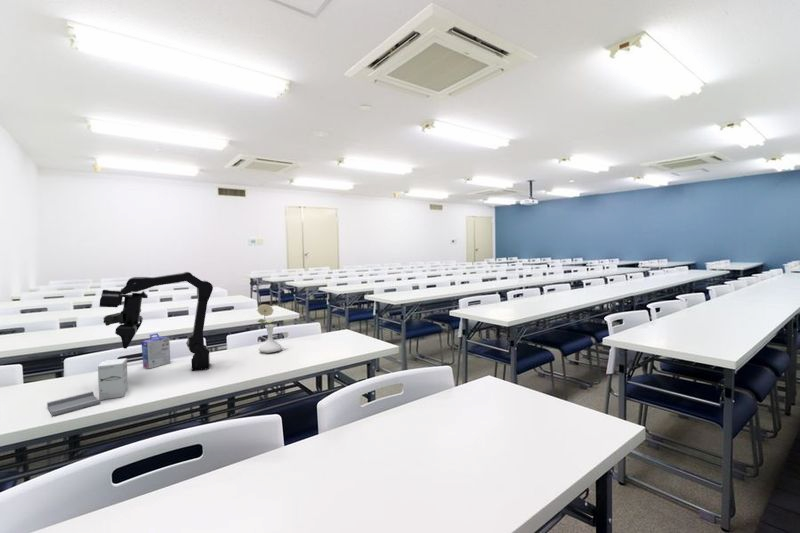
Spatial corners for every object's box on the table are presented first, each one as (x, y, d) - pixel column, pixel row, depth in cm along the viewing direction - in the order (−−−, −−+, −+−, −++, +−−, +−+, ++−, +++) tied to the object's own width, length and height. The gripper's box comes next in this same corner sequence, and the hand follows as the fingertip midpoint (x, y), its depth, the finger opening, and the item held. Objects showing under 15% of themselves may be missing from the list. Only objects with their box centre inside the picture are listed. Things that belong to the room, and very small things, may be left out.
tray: (93, 395, 130) (92, 391, 130) (100, 403, 123) (100, 399, 123) (47, 407, 120) (47, 402, 120) (52, 416, 113) (52, 411, 113)
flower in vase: (286, 349, 189) (285, 303, 187) (273, 355, 178) (272, 306, 176) (264, 347, 192) (263, 302, 190) (251, 353, 181) (250, 305, 179)
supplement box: (98, 401, 125) (96, 366, 124) (104, 393, 132) (102, 360, 131) (124, 396, 128) (122, 363, 128) (128, 389, 135) (127, 357, 134)
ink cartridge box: (164, 361, 169) (163, 331, 168) (171, 362, 166) (170, 332, 166) (141, 367, 160) (140, 335, 159) (148, 369, 158) (147, 337, 157)
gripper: (112, 301, 148) (108, 337, 149) (100, 312, 132) (95, 352, 133) (144, 303, 153) (140, 337, 154) (137, 313, 137) (132, 352, 138)
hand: (127, 344), depth 145 cm, fingers open, 9 cm apart
